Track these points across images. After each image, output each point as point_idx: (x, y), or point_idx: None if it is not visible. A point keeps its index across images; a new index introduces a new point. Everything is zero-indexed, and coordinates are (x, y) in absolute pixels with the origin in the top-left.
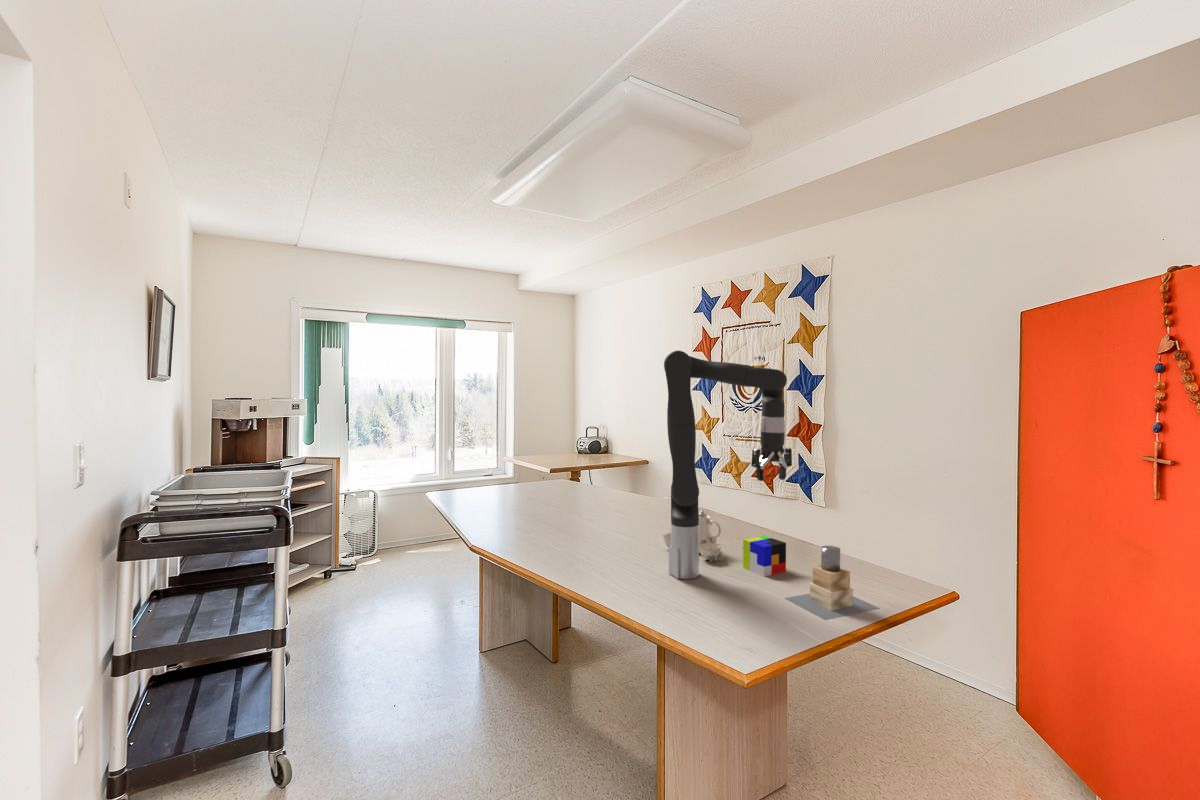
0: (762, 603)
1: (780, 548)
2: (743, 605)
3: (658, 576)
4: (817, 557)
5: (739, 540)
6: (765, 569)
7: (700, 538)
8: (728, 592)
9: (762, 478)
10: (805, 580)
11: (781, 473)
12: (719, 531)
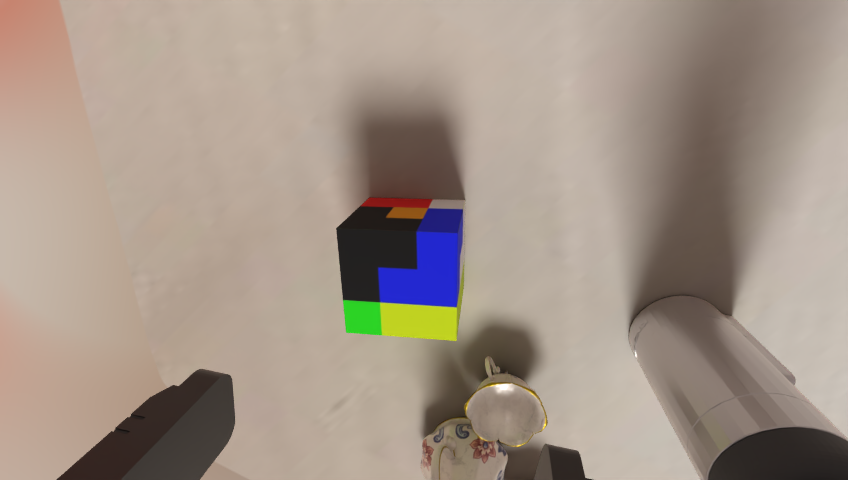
0: (676, 10)
1: (371, 223)
2: (751, 28)
3: None
4: (190, 238)
5: (303, 446)
6: (457, 206)
7: (485, 470)
8: (688, 150)
9: (572, 470)
10: (371, 106)
11: (177, 460)
12: (440, 454)
